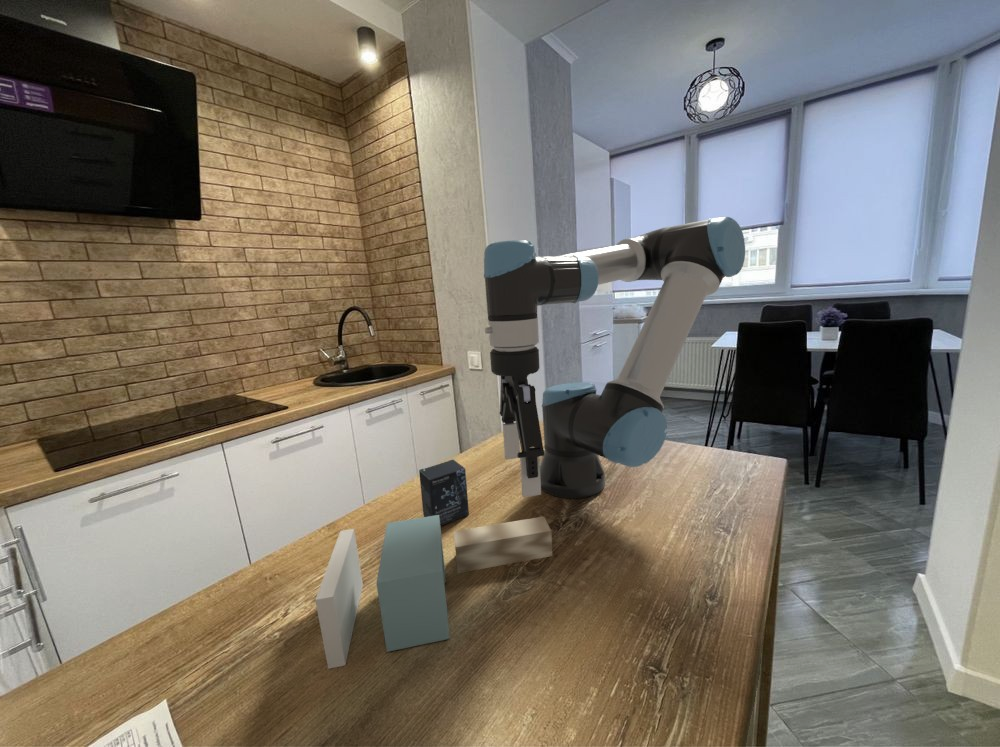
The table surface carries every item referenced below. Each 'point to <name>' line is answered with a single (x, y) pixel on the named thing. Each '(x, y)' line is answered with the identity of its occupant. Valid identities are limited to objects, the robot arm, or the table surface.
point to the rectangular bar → (502, 544)
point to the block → (413, 584)
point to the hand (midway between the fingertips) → (521, 474)
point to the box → (444, 491)
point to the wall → (340, 599)
